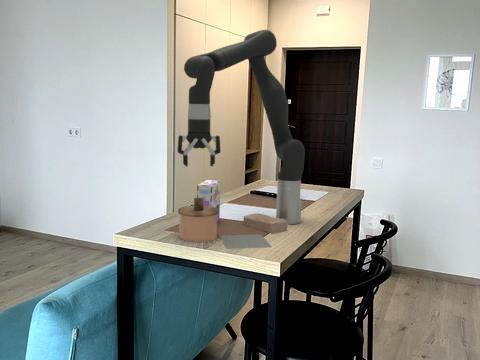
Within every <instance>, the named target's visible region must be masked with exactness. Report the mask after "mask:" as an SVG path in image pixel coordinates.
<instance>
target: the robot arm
mask: <svg viewBox="0 0 480 360" xmlns="http://www.w3.org/2000/svg"><path fill="white" fill-rule="evenodd" d="M276 48H277V38H276V35H275V33H274V32H272V31H271V30H269V29H261V30H257V31H254V32H252V33H250V34H247V35H246V36H245V37H244V39H243V41H239V42H236V43H233V44H229V45H226V46H222V47H219V48H217V49H215V50H212V51H210V52H207V53H206V52H205V53H202V54H197V55H194V56H191V57H189V58H188V59H187V60H186V61H185V63H184V65H183V70H184V73H185V75H186V76H187V77H189V78H191V79H194V80H195V79H196V81H195V84H194V85H192V86H190V87H189V89H188V108H187V135H180V134H179V135H178V136H177V138H178V139H177V153H178V154H180V155H182V163H183V166H184V167H189V166H188V164H189V163H188V161H189V157H188V154H189V152H190V151H191V150H192V149H207V150H208V152H209V153H210V155H209V166H210V167H213V166H214V165H215V163H216V155H218V154H220V153H221V137H220V136H219V134H217V135H212V133H211V118H212V115H211V91H212V85H213V82H214V78H215V72H220V71H221V72H222V71H224V70H226V69H229V68H230V67H233V66H235V65H237V64H239V63H242V62H245V61H246V60H248V63H249V65H250V67H251V70H252V72H253V76H254V78H255V81H256V84H257V87H258V90H259V94H260V98H261V101H262V105H263V107H264V111H265V114H266V118H267V121H268V123H269V127H270V129H271V133H272V134H271V135H272V138H273V139H272V140H273V144H274V150H275V154H276V156H277V158H278V159H280V160H281V161H282V164H281V165H282V166H281V169H280V170H279V171H278V172H277V182H276V183H277V186H276V189H277V190H276V211H275V212H276V215H275V218H281V219H284V220H287V222H288V224H287V225H297V224H301V223H302V222H301V221H302V203H303V202H302V201H303V200H302V199H301V190H302V189H301V186H302V175H303V173H304V167H305V158H306V157H305V156H306V151H305V146H304V144H303V143H302V141H300V140H298V139H293V136H292V134H291V130H290V128H289V127H290V126H289V103H288V98H287V95H286V91H285V88H284V86H283V85H282V84H281V82H280V81H279V79H277V78H276V76H275V75H274V74H273V73H272V72H271V70H270V69H269V67H268V65H267V61H266V59H265V57H267V56H269V55H271V54H273V52H274V51H276ZM185 141H187V142H188V144H187V146H186V148H185V149H184V150H183V143H184V142H185ZM211 141H213V142H214V143H215V150H214V149H213V148H212V147H211V145H210V143H211Z"/></svg>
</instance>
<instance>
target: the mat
mask: <svg viewBox="0 0 480 360" xmlns="http://www.w3.org/2000/svg"><path fill="white" fill-rule="evenodd" d="M219 238H220V240H221V242H222V243H223V245H224V247H225V249H230V250H231V249H251V248H252V249H253V248H257V249H258V248H259V249H261V248H273V247H272V244H270V243H269V242H268V240H266V238H265V237H264V236H263V235H262V234H260V233H259V234H234V235H232V234H231V235H228V234H227V235H219Z"/></svg>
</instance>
